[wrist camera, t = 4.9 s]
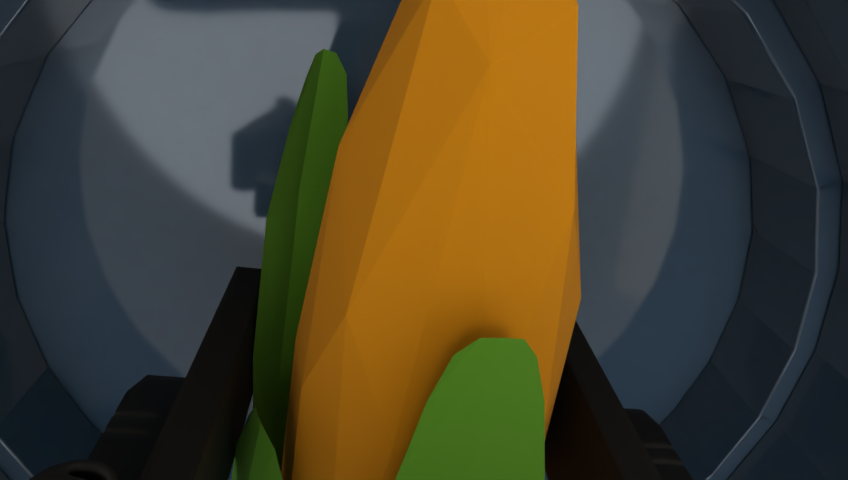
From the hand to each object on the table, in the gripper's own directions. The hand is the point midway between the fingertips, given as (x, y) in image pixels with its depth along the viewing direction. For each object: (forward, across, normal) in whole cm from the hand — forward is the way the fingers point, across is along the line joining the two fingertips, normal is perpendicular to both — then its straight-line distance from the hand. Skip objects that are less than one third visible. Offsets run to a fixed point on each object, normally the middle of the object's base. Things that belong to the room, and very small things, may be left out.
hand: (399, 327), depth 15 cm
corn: (+1, 0, 0) cm, 1 cm away
